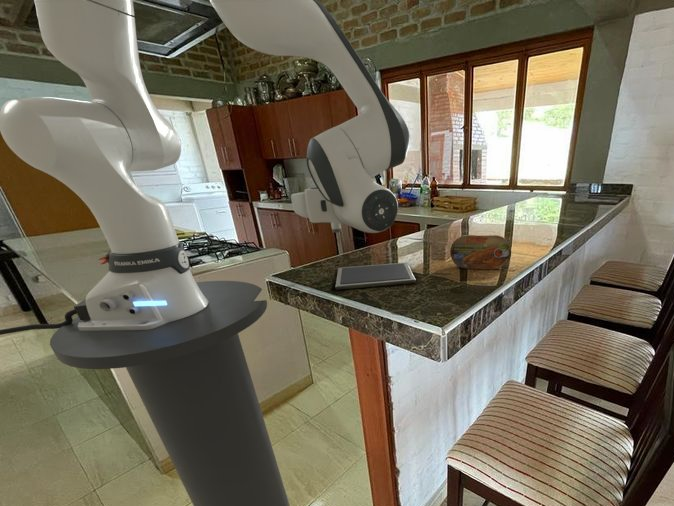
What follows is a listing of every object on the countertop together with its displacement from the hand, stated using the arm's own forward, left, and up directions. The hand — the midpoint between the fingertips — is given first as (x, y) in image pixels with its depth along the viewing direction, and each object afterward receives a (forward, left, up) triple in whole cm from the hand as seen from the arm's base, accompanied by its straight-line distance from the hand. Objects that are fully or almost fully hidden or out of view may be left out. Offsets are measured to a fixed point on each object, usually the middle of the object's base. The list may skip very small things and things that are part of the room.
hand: (331, 197), depth 80 cm
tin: (+36, -7, -18) cm, 41 cm away
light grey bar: (0, -1, -8) cm, 8 cm away
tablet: (+9, -8, -18) cm, 21 cm away
